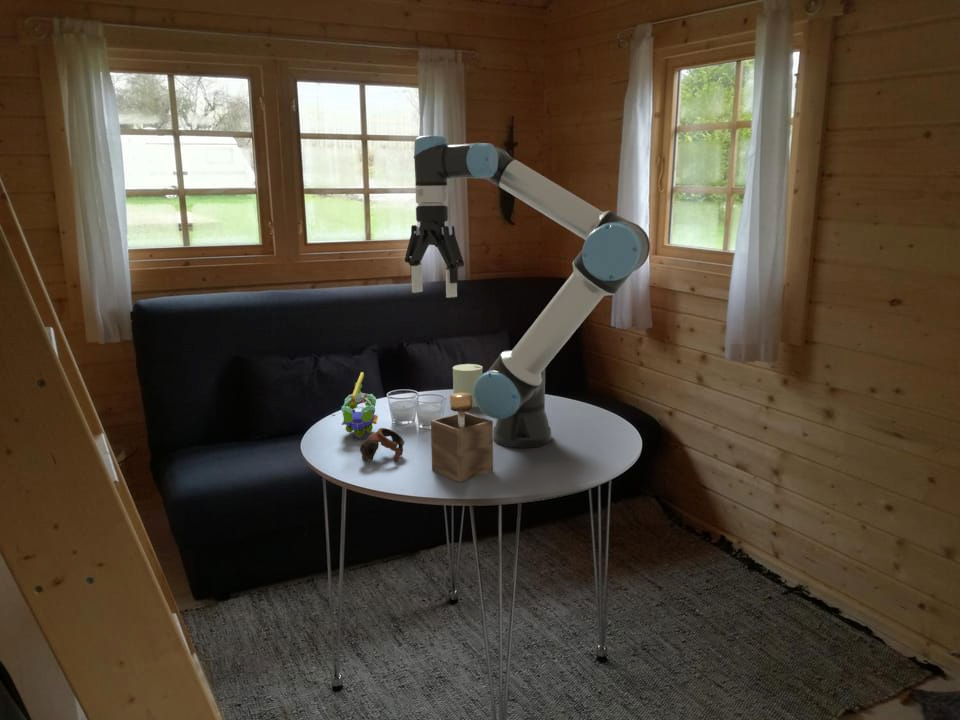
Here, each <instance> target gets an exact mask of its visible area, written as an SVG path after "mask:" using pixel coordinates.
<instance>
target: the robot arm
mask: <svg viewBox="0 0 960 720" xmlns="http://www.w3.org/2000/svg"><path fill="white" fill-rule="evenodd" d="M413 151H414V153H413V159H414V175H415V176H414V177H415V178H414V179H415V203H416V204H418V206H417V205H416V207H415V220H416V222H418V223H420V224H413V225H411V226H410V228H411V229H410V231H411V232H410V237H409V241H408V245H407V249H406V252H405V253H406V254H405V255H404V256H405V257H404V262H405V263H408V265H409V266H410V278H411V292H412V293H414V294H416V293H421V292H422V293H423V291H424V289H423V266H422V259H423V258H424V256H425V253H426V252H427V249H428V248H429V247H430V246H434V247H435V248H437V250H438V251H439V253H440V255H441V258H442V259H443V262H444V263H445V265H446V268H445V298H450V299H451V298H457V297H458V282H459V273H458V272H459V268H461V267H462V268H463V267H464V266H465V262H464V259H463V257H462V253H461V250H460V247H459V244H458V240H457V236H456V232H455V226H454V225H445V223H446V222H447V221H448V220H449V211H448V210H449V208H448V206H447V205H446V204H448V203H449V196H448V195H449V194H448V179H481V180H482V179H483V180H487V181H489V182H490V183H492V184H493V185H495V186H497V187H499V188H501V189H502V190H503V191H505V192H507V193H509V194H511V195H512V196H513V197H515V198H517V199H519V200H520V201H522V202H524V203H525V204H527V205H528V206H530V207H531V208H533V209H534V210H536V211H537V212H539V213H541V214H543V215H545V216H546V217H547V218H549V219H551V220H553V221H554V222H556V223H557V224H558V225H560V226H562V227H564V228H565V229H566V230H569V231H570V232H572V233H573V234H575V235H577V236H578V237H579V238H582V239H583V240H584V243H583V246H582V249H581V251H579V253H578V255H577V256H576V257H575V258H574V259H573V261H572V269H573V270H572V273H571V275H570V276H569V277H568V278H567V280H566V281H565V282H564V284H562V286H561V287H560V288H559V290H558V291H557V293H555V295H554V296H553V297H552V299H550V301H549V302H548V304H547V305H546V306H545V308H543V310H542V311H541V313H540V314H539V315H538V317H537V318H536V319H535V320H534V322H533V323H532V325H530V327H529V328H528V329H527V331H526V332H525V333H524V335H523V336H522V337H521V339H520V340H519V341H518V342H517V344H515V346H514V347H513V348H512V350H504V351H502V352H500V353H499V355H498V357H497V358H496V360H495V361H494V362H493V364H491V366H490V368H489V369H487V371H485V372H482V375H481V376H480V377H479V378H478V379H477V381H476V383H475V385H474V391H473V393H474V398H475V402H476V404H477V406H478V407H477V408H478V409H479V410H480V412H482V413H483V414H485V415H486V416H488V417H490V418H492V419H494V420H495V419H496V423H495V426H494V427H493V441H494V442H495V443H497V444H499V445H501V446H506V447H510V448H524V449H525V448H535V447H541V446H544V445H546V444H548V443H550V441H551V440H552V429H551V427H550V425H549V420H548V416H547V413H546V408H545V407H546V405H545V402H546V401H545V400H546V396H545V395H546V368H547V367H548V366H549V364H550V362H551V361H552V360H553V359H554V358H555V357H556V356H557V354H558V353H559V352H560V351H561V349H562V348H563V346H564V345H566V343H567V342H568V341H569V340H570V339H571V337H572V336H573V334H574V333H575V332H576V330H578V328H580V326H581V324H583V322H584V321H585V320H586V319H587V317H588V316H589V315H590V314H591V312H592V311H593V310H594V309H595V307H596V306H597V305H598V304H599V303H600V301H601V300H602V299H603V298H604V297H606V296H614V295H615V294H616V293H617V291H619V289H620V288H621V287H622V286H623V285H624V283H625V282H626V281H627V280H628V278H630V276H631V275H632V274H633V273H634V272H636V271H637V270H640V268H641V267H642V266H644V264H646V262H647V260H648V257H649V255H650V250H651V243H650V239H649V236H648V234H647V232H646V231H645V230H644V228H642V227H641V226H640V225H639V224H637V223H634V222H633V221H630V220H628V219H626V218H624V217H622V216H619V215H618V214H616V213H614V212H613V211H611V210H607V211H602V210H600V209H598V208H597V207H596V206H594V205H593V204H590V203H589V202H587V201H585V200H584V199H582V198H581V197H579V196H577V195H576V194H573V192H570V191H569V190H567V189H565V188H564V187H562V186H560V185H559V184H557V183H555V182H554V181H552V180H550V179H548V178H547V177H546V176H543V175H542V174H541V173H539V172H537V171H535V170H533V169H532V168H530V167H529V166H527V165H525V164H524V163H522V162H521V161H519V160H517V159H515V158H513V157H511V156H510V155H509V153H508V152H507V151H506V150H504V149H502V148H500V147H498V146H497V147H496V146H495V145H494V144H492V143H484V142H475V143H464V144H463V143H461V144H448V143H447V138H446V137H445V136H443V135H422V136H421V135H420V136H418V137H416V138H415V140H414V149H413Z"/></svg>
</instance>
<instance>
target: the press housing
mask: <svg viewBox="0 0 960 720" xmlns="http://www.w3.org/2000/svg"><path fill="white" fill-rule="evenodd" d="M493 424H494V422H493V420H490V419H487V418H484V417H482V416H479V415H476V414H472V413H469V412H467V411H465V428H462V429H458V413H455V414H450V415H446V416H443V417H439V418H434V419H431V420H430V439H431V440H430V442H431V444H430V446H431V471H433V472H435V473H438V474H440V475H442V476H444V477H446V478H449V479H452V480H453V481H456V482H458V483H461V482H464V481H467V480H470V479H473V478H477V477H479V476H482V475H485V474H489V473H491V472H493V471H494V444H493V443H494V442H493V441H494V439H493V429H494V427H493Z"/></svg>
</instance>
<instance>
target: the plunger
mask: <svg viewBox="0 0 960 720" xmlns="http://www.w3.org/2000/svg"><path fill="white" fill-rule="evenodd" d="M449 408H450V410H451V411H453V412H457V414H458V429H462V428H465V412H469V411H471V410H473V408H472V395H471V394H469V393H452V394H450V395H449Z"/></svg>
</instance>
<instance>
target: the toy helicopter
mask: <svg viewBox="0 0 960 720" xmlns="http://www.w3.org/2000/svg"><path fill="white" fill-rule="evenodd" d="M364 376H365V373H364V372H363V371H361V372H360V374H359V377H358V379H357V382H355V383H354V389H353V392H352V394H348V396H347V397H345V399H344V403H343V406H342V405H341V413H342V418H343V421H342V423H341V425H342V426H345V431H346V432H347V433H353V438H354V439H355V440H359V439H361V440H364V439H365V438H366V434H367V432H368V433H369V432H371V431H373V424H374V425H376V424H377V423H378V422H377V420H378V418H379V415H377V414H375V412H376V408H375V407H376V403H377V398H376V396H374V395H373V393H370V394H368V393H363V392H362V391H361V389H362V387H363V384H362V382H363V379H364ZM359 403H364V405H365V406H362V407H361V406H360V407H358V405H359ZM356 409H361V411H356Z"/></svg>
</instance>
